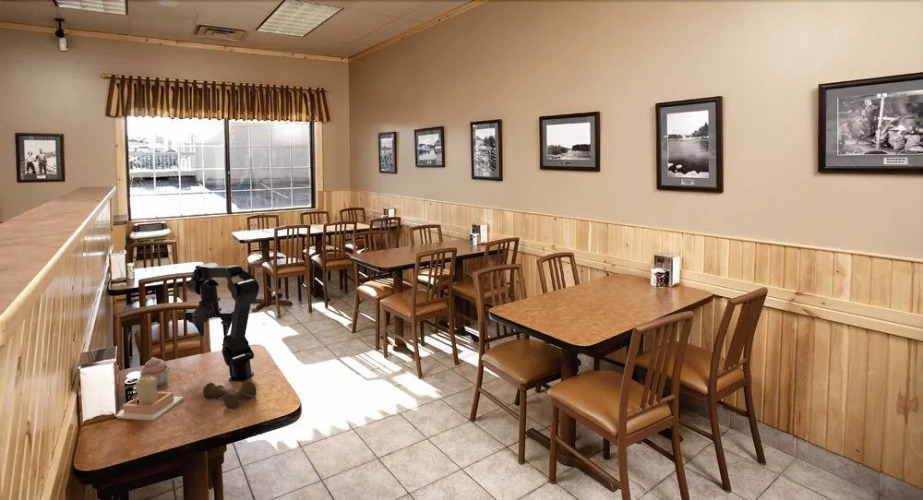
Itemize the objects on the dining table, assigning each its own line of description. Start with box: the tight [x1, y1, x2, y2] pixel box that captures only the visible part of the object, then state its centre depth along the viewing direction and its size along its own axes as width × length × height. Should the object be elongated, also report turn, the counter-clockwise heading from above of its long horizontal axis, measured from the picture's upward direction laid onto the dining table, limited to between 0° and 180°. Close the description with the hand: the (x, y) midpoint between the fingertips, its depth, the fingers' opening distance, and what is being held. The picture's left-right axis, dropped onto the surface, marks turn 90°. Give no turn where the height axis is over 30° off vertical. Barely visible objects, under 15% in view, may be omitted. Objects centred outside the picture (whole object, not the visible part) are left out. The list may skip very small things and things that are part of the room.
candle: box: [135, 375, 159, 405], centre depth 170 cm, size 6×6×10 cm
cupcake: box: [139, 356, 171, 387], centre depth 188 cm, size 9×9×10 cm
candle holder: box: [116, 391, 185, 421], centre depth 171 cm, size 14×14×3 cm
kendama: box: [202, 380, 257, 410], centre depth 174 cm, size 6×10×20 cm
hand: (214, 336), depth 200 cm, fingers open, 9 cm apart
